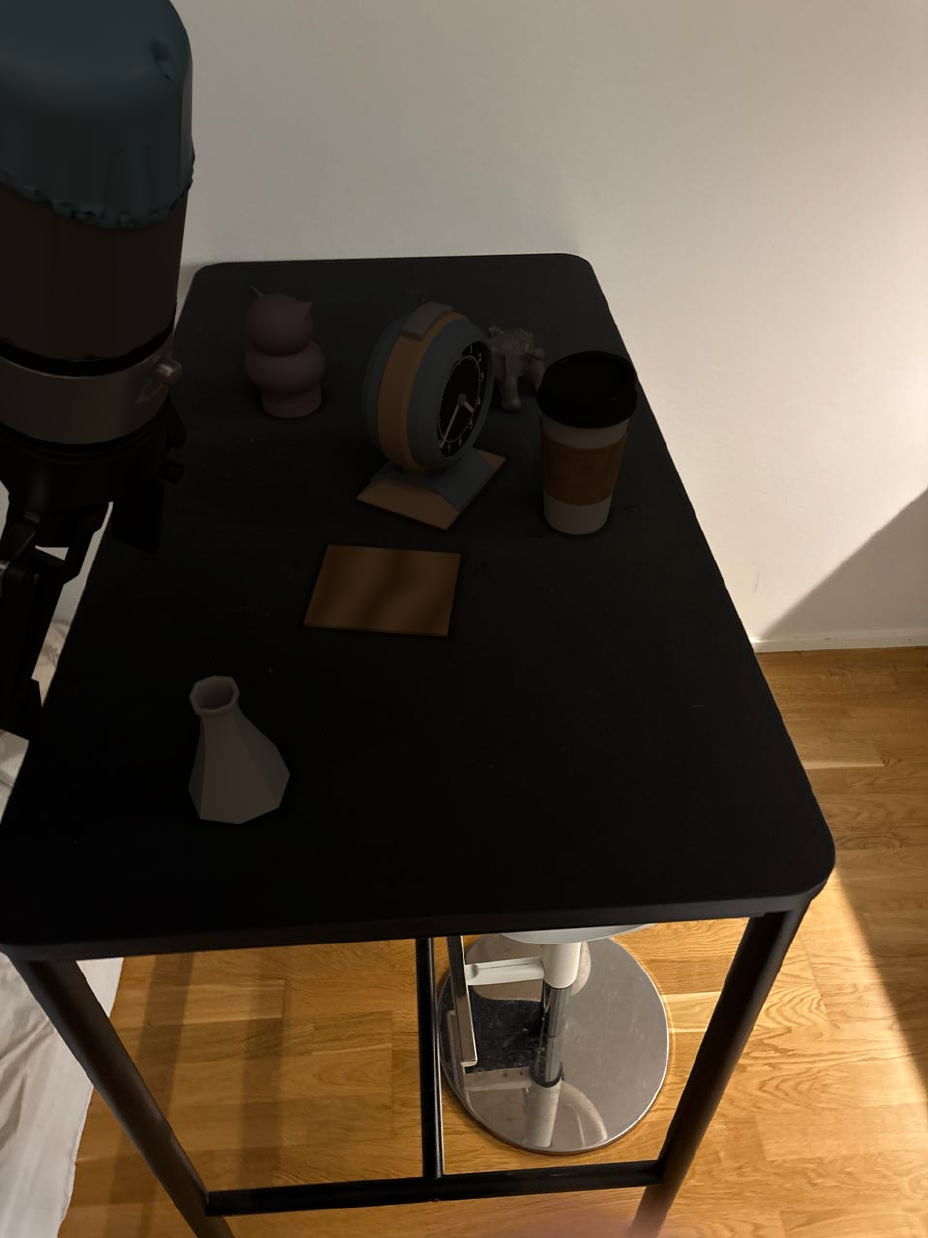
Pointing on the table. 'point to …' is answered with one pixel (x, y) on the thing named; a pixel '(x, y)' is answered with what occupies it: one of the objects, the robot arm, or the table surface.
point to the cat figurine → (283, 354)
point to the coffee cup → (583, 436)
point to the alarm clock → (429, 414)
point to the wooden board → (384, 590)
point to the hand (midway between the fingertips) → (80, 629)
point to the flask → (232, 758)
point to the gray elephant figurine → (514, 362)
